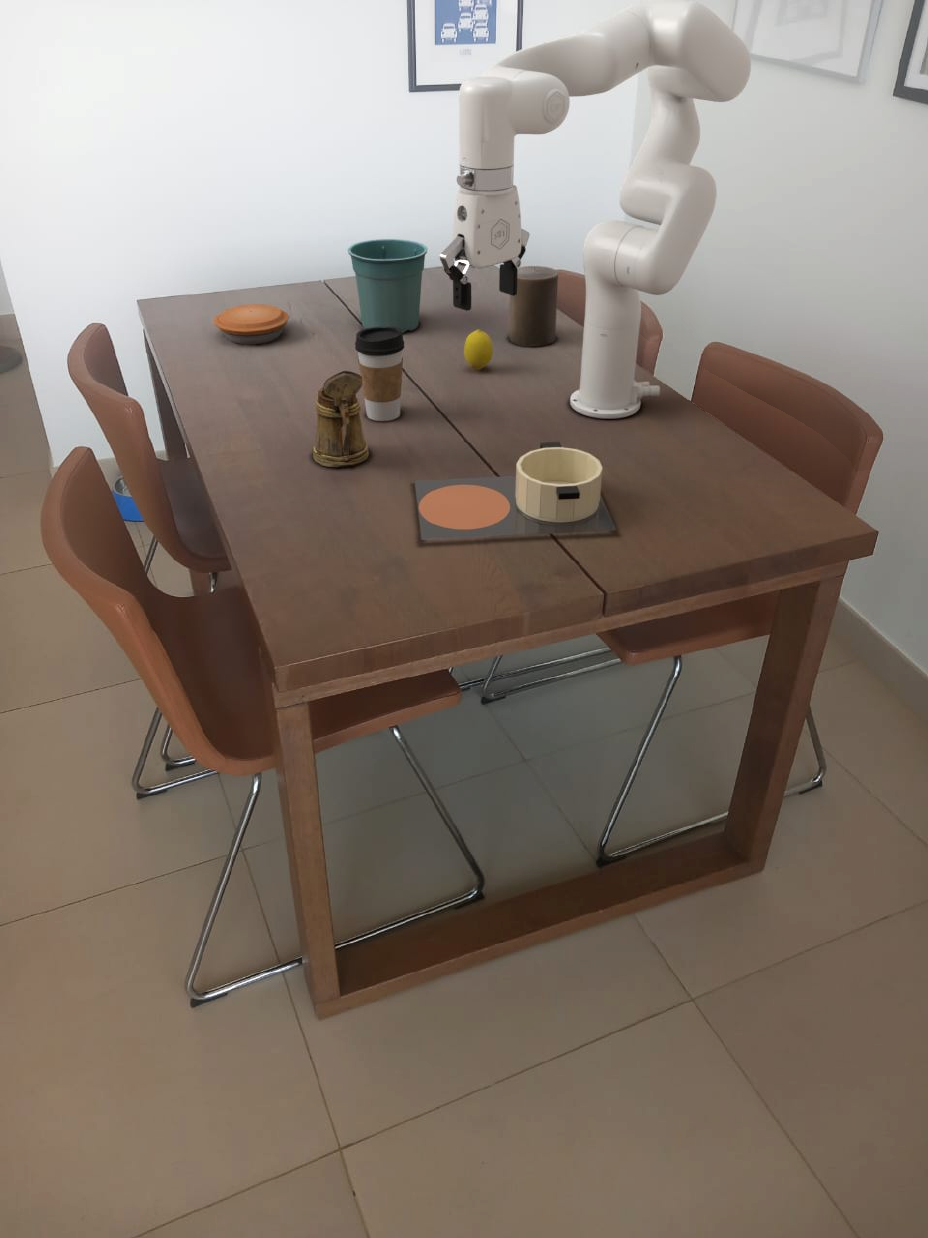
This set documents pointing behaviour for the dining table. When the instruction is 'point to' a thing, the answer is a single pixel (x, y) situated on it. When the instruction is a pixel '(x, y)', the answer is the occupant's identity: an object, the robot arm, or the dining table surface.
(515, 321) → the pillar candle
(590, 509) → the pot
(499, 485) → the cooktop
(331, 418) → the wooden mug
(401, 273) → the flower pot
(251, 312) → the pie
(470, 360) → the lemon
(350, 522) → the dining table surface
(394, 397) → the coffee cup
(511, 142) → the robot arm
